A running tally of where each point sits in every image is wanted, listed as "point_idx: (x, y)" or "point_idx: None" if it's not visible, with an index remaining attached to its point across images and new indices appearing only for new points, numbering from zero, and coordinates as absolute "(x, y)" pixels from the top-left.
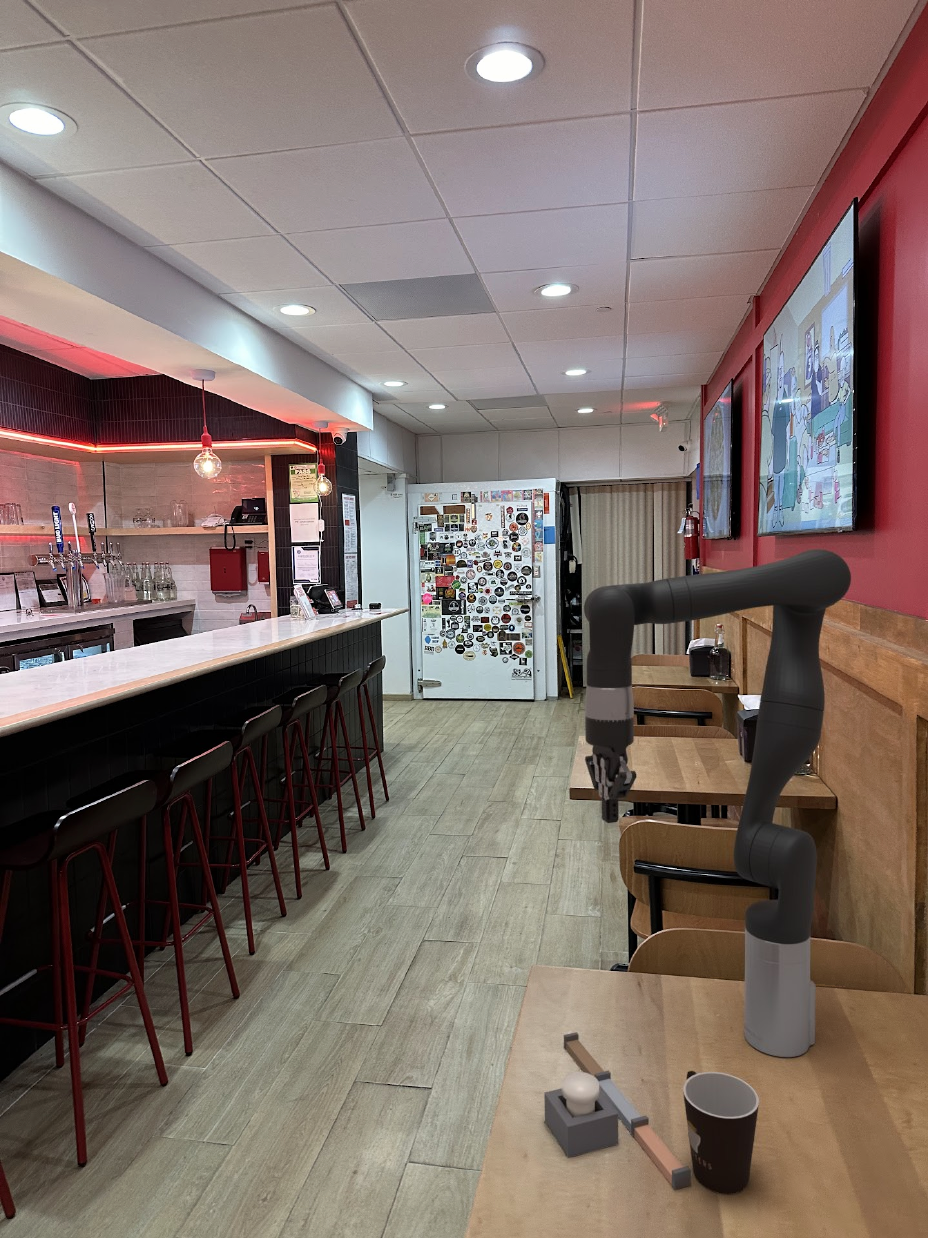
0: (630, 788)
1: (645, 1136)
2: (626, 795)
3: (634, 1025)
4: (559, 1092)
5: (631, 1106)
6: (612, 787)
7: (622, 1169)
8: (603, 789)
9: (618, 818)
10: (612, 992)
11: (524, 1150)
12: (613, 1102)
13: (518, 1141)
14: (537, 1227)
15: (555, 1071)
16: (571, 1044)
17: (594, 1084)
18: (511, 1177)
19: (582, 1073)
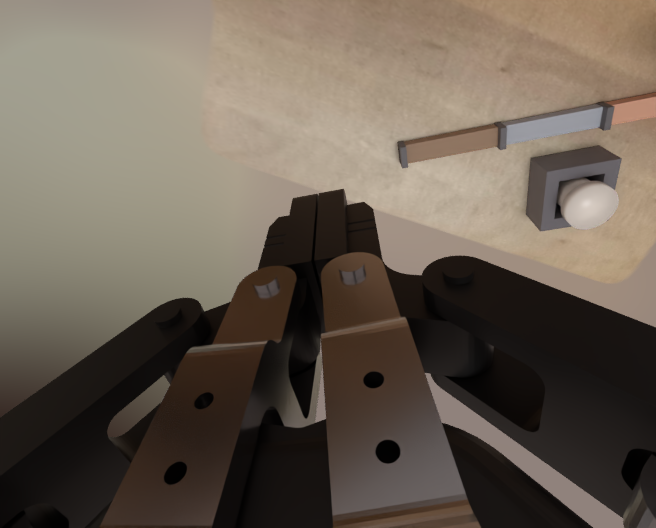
0: (616, 315)
1: (626, 116)
2: (499, 273)
3: (367, 29)
4: (548, 215)
5: (568, 115)
6: (508, 430)
7: (635, 153)
8: (315, 385)
9: (343, 191)
10: (258, 35)
11: (555, 241)
12: (550, 136)
13: (541, 244)
14: (649, 247)
15: (444, 183)
16: (414, 157)
17: (603, 192)
18: (582, 257)
19: (575, 200)
